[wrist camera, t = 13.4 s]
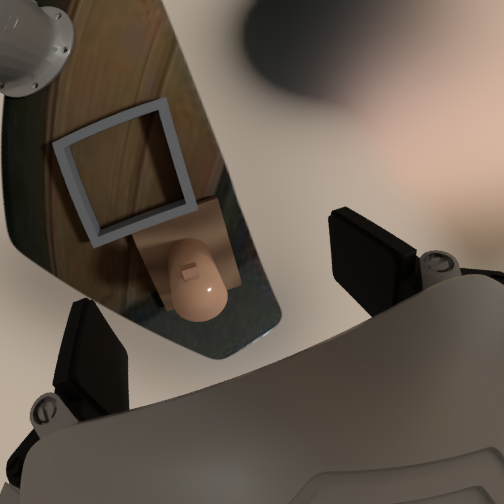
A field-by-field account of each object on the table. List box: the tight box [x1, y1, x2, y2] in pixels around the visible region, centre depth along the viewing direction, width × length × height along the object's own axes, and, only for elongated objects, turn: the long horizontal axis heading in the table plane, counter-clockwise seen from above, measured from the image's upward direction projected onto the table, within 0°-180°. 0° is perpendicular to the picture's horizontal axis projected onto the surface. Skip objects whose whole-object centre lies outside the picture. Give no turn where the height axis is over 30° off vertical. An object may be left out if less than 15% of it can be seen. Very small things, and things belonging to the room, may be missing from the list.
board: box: [132, 196, 242, 311], centre depth 40 cm, size 14×12×1 cm
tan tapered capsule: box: [167, 238, 227, 322], centre depth 36 cm, size 6×9×10 cm, turn 10°
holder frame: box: [52, 97, 198, 248], centre depth 32 cm, size 14×14×2 cm
